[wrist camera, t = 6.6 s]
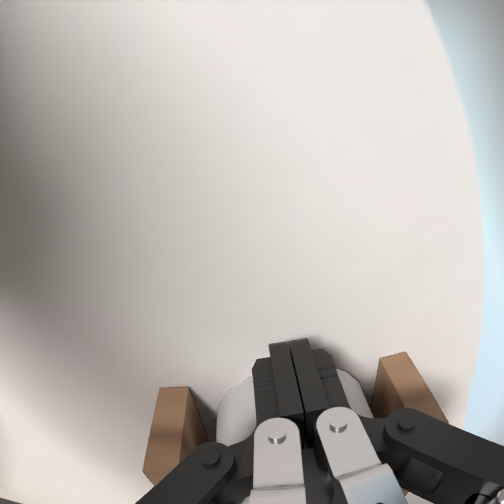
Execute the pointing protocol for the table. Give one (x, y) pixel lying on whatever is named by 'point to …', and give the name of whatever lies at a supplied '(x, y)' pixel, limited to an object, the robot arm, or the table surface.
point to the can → (244, 422)
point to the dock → (194, 434)
